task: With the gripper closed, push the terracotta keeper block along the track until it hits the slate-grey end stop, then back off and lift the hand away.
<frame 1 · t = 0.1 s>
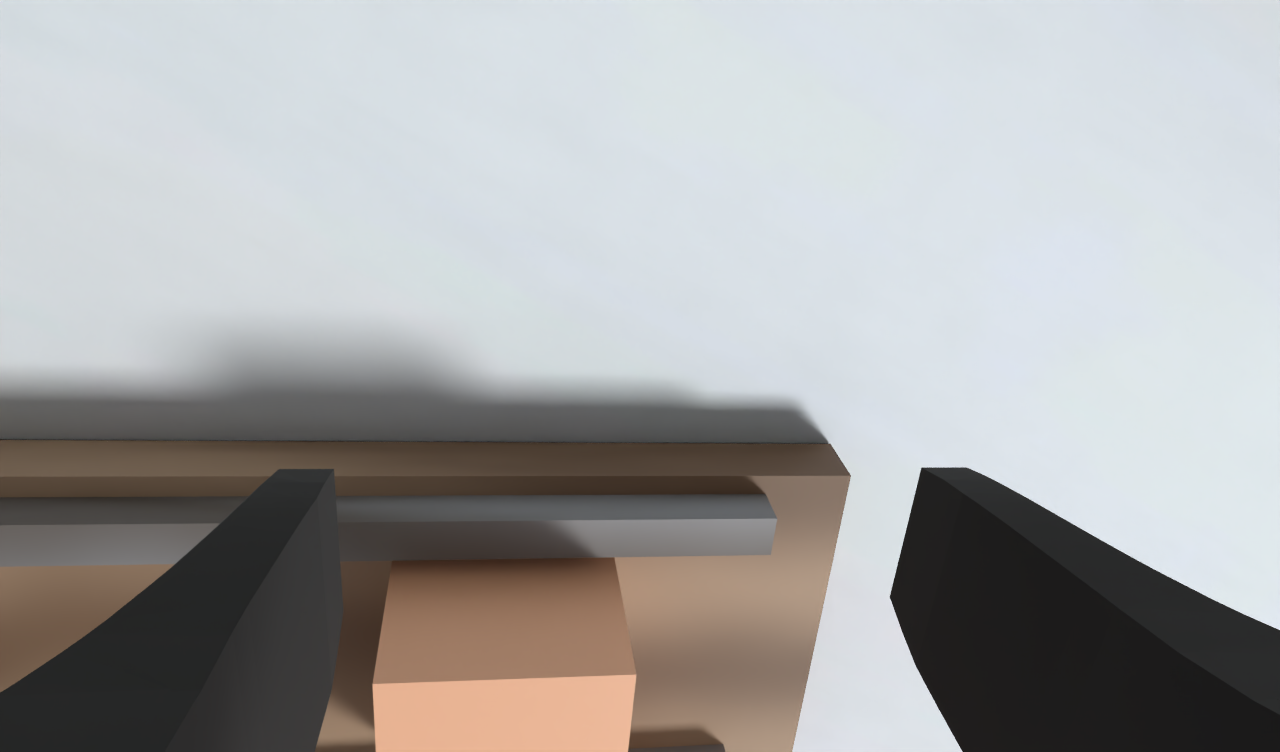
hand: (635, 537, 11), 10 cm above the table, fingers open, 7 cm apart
keeper track: (299, 615, 23), on the table
keeper: (503, 716, 21), point 4 cm above the table, slide at 0.0 cm
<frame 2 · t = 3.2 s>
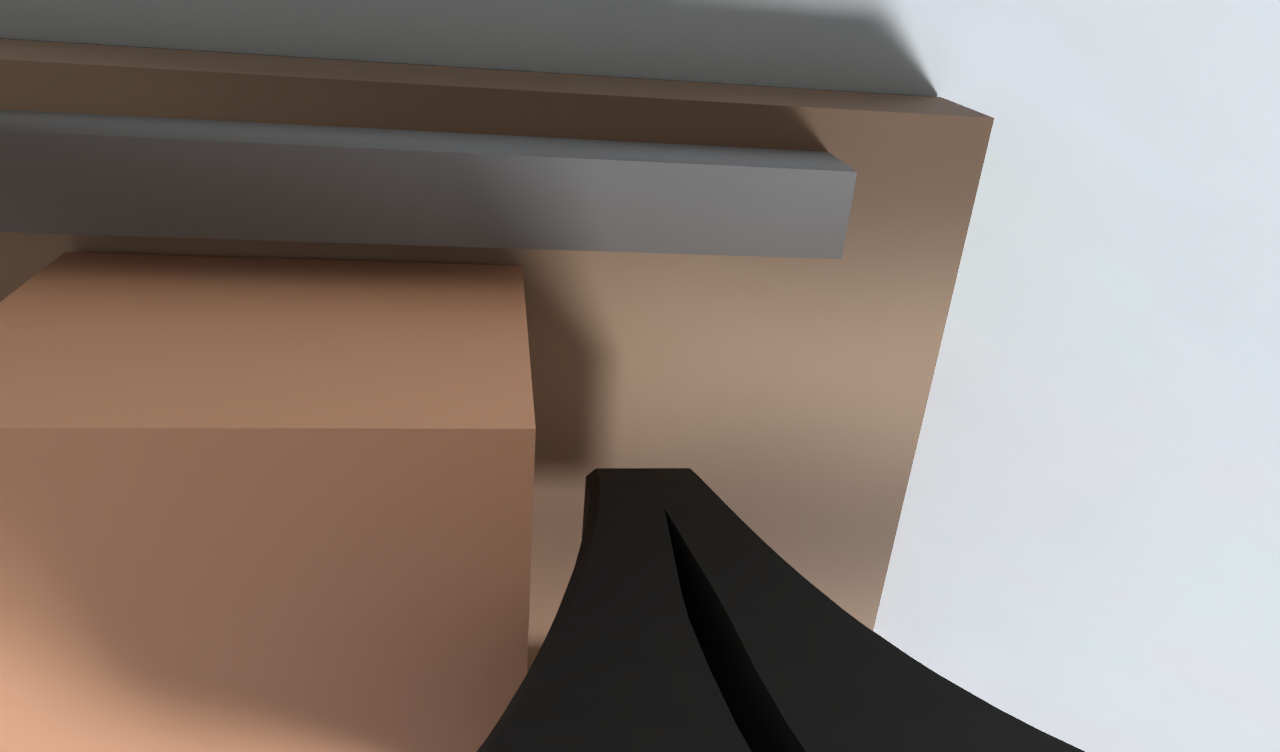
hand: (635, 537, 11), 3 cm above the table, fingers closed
keeper: (289, 580, 10), point 4 cm above the table, slide at 0.1 cm, touching gripper
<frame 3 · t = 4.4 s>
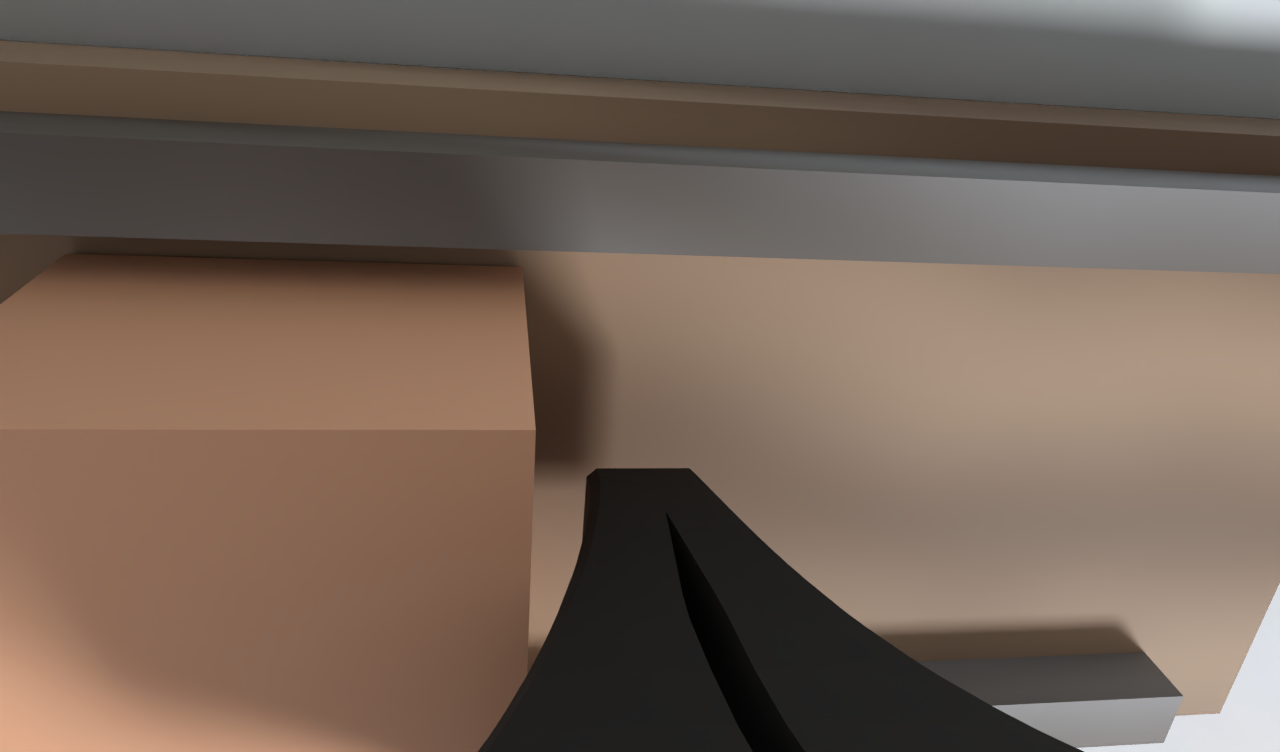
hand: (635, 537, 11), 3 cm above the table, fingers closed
keeper track: (480, 424, 14), on the table
keeper: (290, 581, 10), point 4 cm above the table, slide at 7.0 cm, touching gripper
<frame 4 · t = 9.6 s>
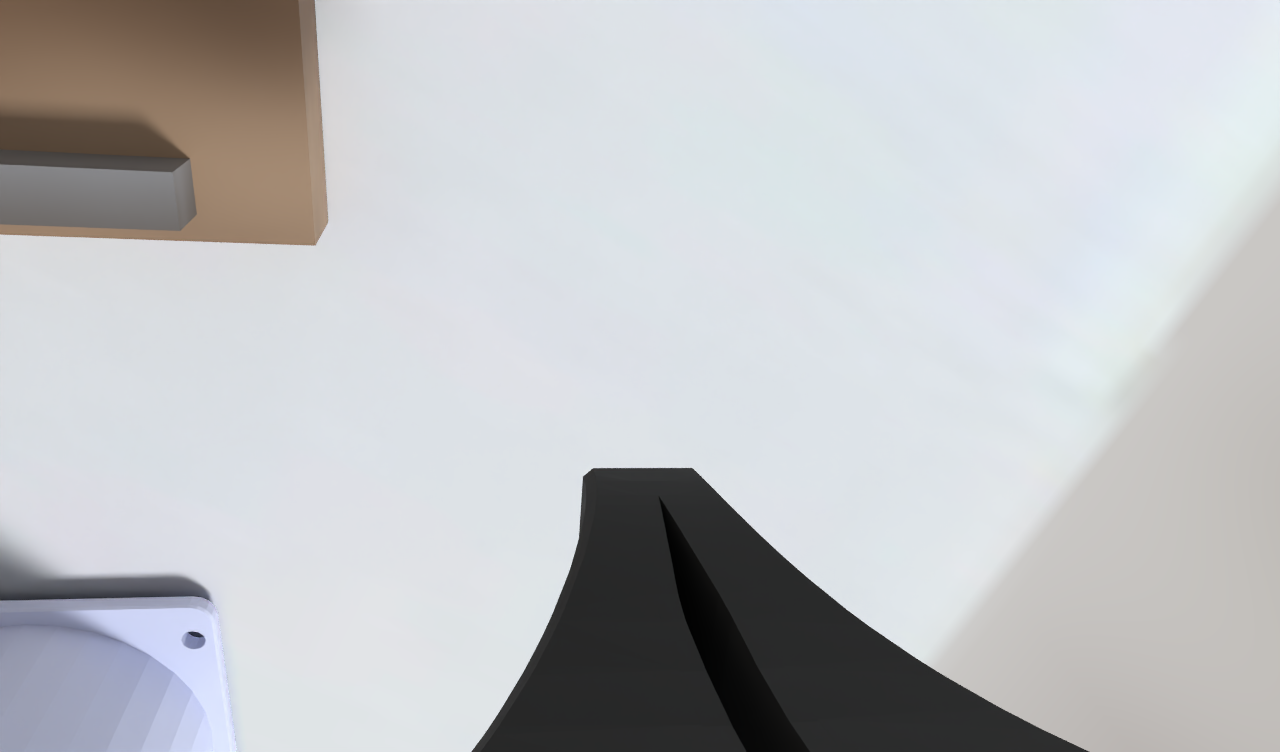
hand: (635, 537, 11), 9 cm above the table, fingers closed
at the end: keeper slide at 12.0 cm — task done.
